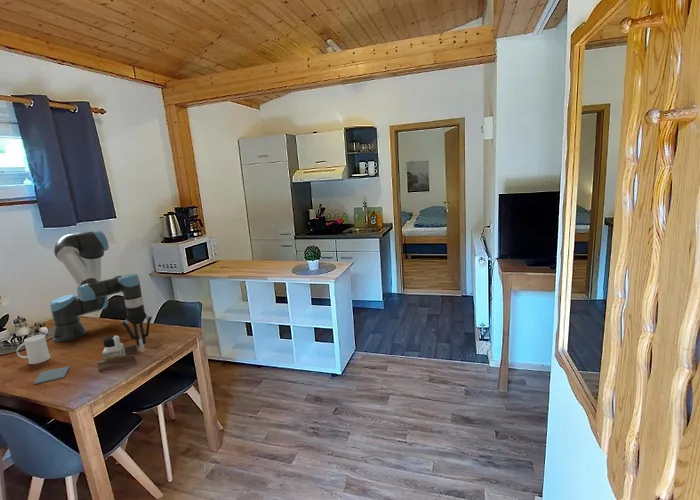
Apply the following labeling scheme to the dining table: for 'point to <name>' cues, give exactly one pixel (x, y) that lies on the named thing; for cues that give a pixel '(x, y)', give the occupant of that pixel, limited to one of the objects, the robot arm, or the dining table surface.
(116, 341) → the container
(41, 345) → the mug
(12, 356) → the dining table surface
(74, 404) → the dining table surface
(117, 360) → the rack
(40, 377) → the pad
